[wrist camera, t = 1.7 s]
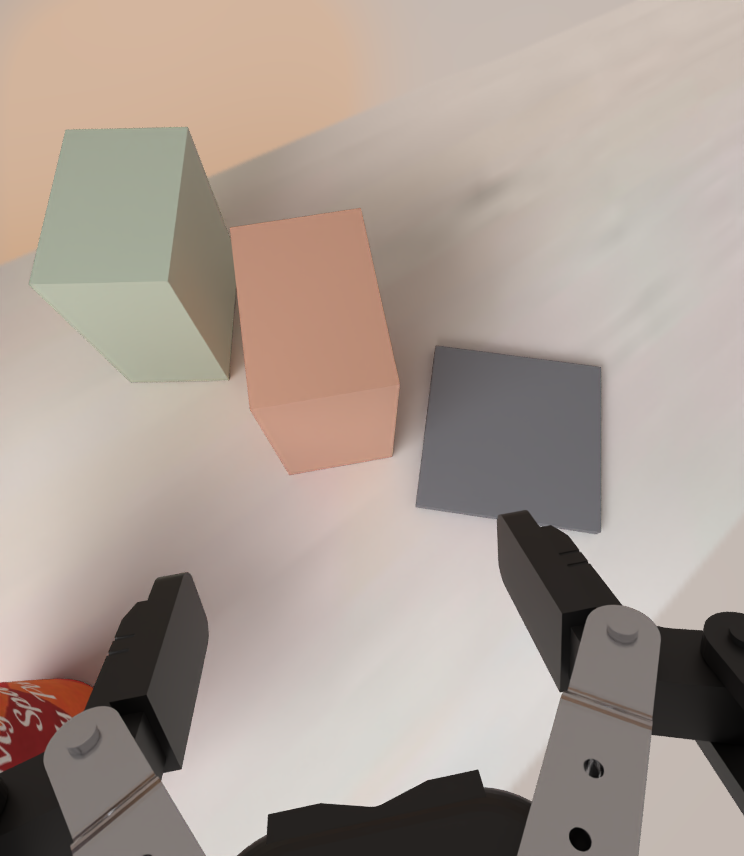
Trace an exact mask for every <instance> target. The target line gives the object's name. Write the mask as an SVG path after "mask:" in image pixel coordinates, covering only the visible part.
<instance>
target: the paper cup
mask: <svg viewBox="0 0 744 856" xmlns="http://www.w3.org/2000/svg"><path fill="white" fill-rule="evenodd" d="M92 690H93V687H91V686H90V685H88V684H86V683H84V682H81V681H77V680H72V679H42V680H28V681H14V682H2V683H0V773H1V772H3V771H6V770H8V769H10V768H12V767H14V766H16V765H18V764H20V763H22V762H25V761H27V760H29V759H31V758H33V757H35V756H37V755H39V754H41V753H43V752H45V750H46V747H47V745H48V743H49V741H50V740H51V738H52V737H53V736H54V734H55V733H56V732H57V731H58V730H59V728H60V727H61V726H63V725H64V724H65V723H66V722H67V721H68V720H70V719H71V718H72V717H74V716H76V715H77V714H79V713H81V712H83V711H84V709H85V707H86V704H87V702H88V700H89V697H90V695H91V693H92Z"/></svg>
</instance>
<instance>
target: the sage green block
mask: <svg viewBox="0 0 744 856" xmlns="http://www.w3.org/2000/svg"><path fill="white" fill-rule="evenodd" d="M29 285H30V286H31V287H32V288H33V289H34V290H35V291H36V292H37V293H38V294H39V295H40V296H41V297H42V298H43V299H44V300H45V301H46V302H47V303H48V304H49V305H50V306H52V307H53V308H54V309H55V310H56V311H57V312H58V313H59V314H60V315H61V316H62V317H63V318H64V319H65V320H66V321H67V322H68V323H69V324H70V325H71V326H72V327H73V328H74V329H75V330H77V331H78V332H79V333H80V334H81V335H82V336H83V337H84V338H85V339H86V340H87V341H88V342H89V343H90V344H91V345H92V346H93V347H94V348H95V349H96V350H97V351H98V352H99V353H100V354H102V355H103V356H104V357H105V358H106V359H107V360H108V361H109V362H110V363H111V364H112V365H113V366H114V367H115V368H116V369H117V370H118V371H119V372H120V373H121V374H122V375H123V376H124V377H125V378H126V379H128V380H129V381H130V382H131V383H138V382H179V381H219V380H229V371H230V358H231V345H232V332H233V319H234V306H235V293H236V279H235V270H234V261H233V252H232V243H231V239H230V236H229V233H228V231H227V228H226V226H225V223H224V220H223V218H222V215H221V212H220V210H219V207H218V205H217V202H216V199H215V197H214V194H213V192H212V189H211V186H210V184H209V181H208V178H207V176H206V173H205V171H204V168H203V165H202V163H201V160H200V157H199V155H198V152H197V150H196V147H195V144H194V142H193V139H192V136H191V134H190V131H189V129H188V127H166V128H165V127H164V128H163V127H162V128H119V129H76V130H75V129H74V130H65V134H64V139H63V143H62V147H61V151H60V155H59V160H58V164H57V168H56V172H55V176H54V180H53V185H52V189H51V193H50V197H49V201H48V206H47V210H46V214H45V218H44V223H43V226H42V231H41V235H40V240H39V243H38V247H37V252H36V256H35V260H34V264H33V268H32V273H31V277H30V281H29Z"/></svg>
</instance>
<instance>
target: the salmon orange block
mask: <svg viewBox="0 0 744 856" xmlns="http://www.w3.org/2000/svg"><path fill="white" fill-rule="evenodd" d="M230 234H231V243H232V252H233V261H234V270H235V279H236V288H237V297H238V306H239V315H240V324H241V333H242V342H243V351H244V360H245V369H246V378H247V387H248V396H249V405H250V411H251V412H252V414H253V415H254V417H255V419H256V420H257V422H258V424H259V425H260V427H261V429H262V430H263V432H264V434H265V435H266V437H267V439H268V440H269V442H270V444H271V445H272V447H273V449H274V450H275V452H276V454H277V455H278V457H279V459H280V460H281V462H282V464H283V465H284V467H285V469H286V470H287V472H288V474H289V475H293V474H298V473H304V472H309V471H315V470H321V469H326V468H332V467H337V466H343V465H349V464H354V463H360V462H366V461H371V460H377V459H382V458H388V457H392V453H393V444H394V434H395V425H396V416H397V406H398V397H399V388H400V383H399V378H398V374H397V369H396V365H395V360H394V356H393V351H392V346H391V342H390V337H389V333H388V328H387V324H386V319H385V315H384V310H383V306H382V301H381V297H380V292H379V288H378V283H377V279H376V274H375V270H374V265H373V261H372V256H371V252H370V247H369V243H368V238H367V234H366V229H365V225H364V220H363V216H362V211H361V208H357V209H351V210H344V211H337V212H331V213H324V214H317V215H311V216H304V217H297V218H290V219H284V220H277V221H270V222H264V223H257V224H250V225H244V226H237V227H230Z"/></svg>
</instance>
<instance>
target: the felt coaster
mask: <svg viewBox="0 0 744 856" xmlns="http://www.w3.org/2000/svg"><path fill="white" fill-rule="evenodd" d="M416 507H418V508H425V509H432V510H438V511H445V512H452V513H459V514H465V515H472V516H479V517H486V518H492V519H497V517H498V515H500V514H506V513H511V512H516V511H522V510H527V511H529V513H530V514H531V515H532V517H533V518H534V520H535V521H536V522H537V524H538V525H540V526H549V525H552V526H554V527H555V528H560V529H567V530H573V531H580V532H587V533H594V534H597V533H600V532H601V367H597V366H589V365H582V364H574V363H566V362H559V361H551V360H543V359H536V358H528V357H520V356H513V355H505V354H497V353H489V352H482V351H474V350H466V349H459V348H451V347H443V346H436V348H435V353H434V362H433V370H432V378H431V386H430V394H429V402H428V410H427V418H426V426H425V434H424V442H423V451H422V459H421V467H420V475H419V483H418V491H417V499H416Z"/></svg>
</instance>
